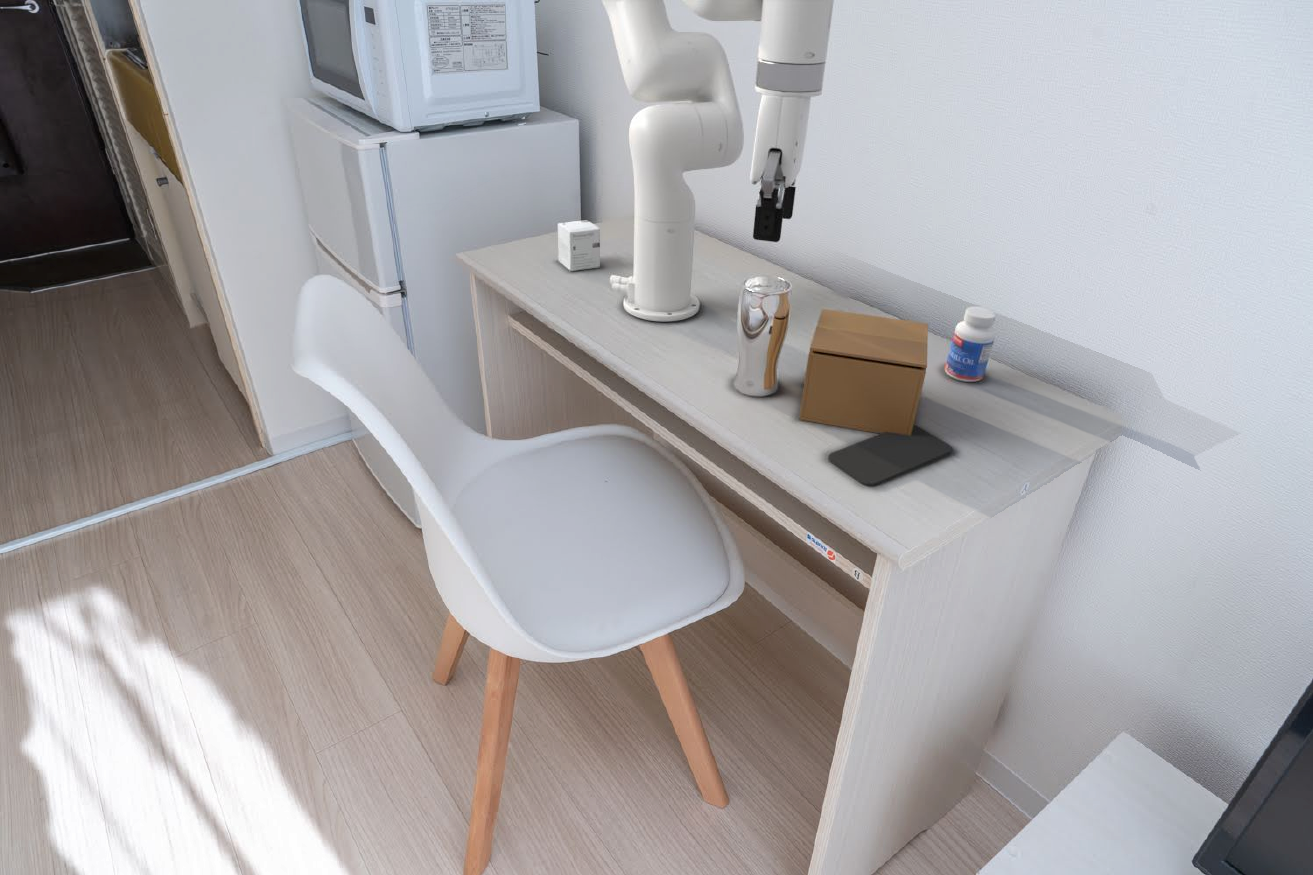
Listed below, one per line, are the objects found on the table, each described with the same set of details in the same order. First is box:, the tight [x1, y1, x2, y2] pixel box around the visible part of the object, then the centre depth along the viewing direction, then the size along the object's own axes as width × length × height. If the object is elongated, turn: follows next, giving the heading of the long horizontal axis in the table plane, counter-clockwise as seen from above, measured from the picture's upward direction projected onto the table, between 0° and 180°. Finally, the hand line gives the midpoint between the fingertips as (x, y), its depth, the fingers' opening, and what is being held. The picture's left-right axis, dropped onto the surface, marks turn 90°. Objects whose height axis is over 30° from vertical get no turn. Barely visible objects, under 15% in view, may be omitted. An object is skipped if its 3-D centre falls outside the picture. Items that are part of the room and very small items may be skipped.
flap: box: [816, 308, 929, 344], centre depth 105 cm, size 6×14×1 cm, turn 73°
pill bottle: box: [944, 306, 997, 383], centre depth 113 cm, size 6×5×10 cm
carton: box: [798, 326, 928, 436], centre depth 105 cm, size 13×14×10 cm
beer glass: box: [733, 274, 793, 398], centre depth 107 cm, size 7×7×15 cm
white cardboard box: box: [557, 219, 601, 272], centre depth 147 cm, size 6×6×7 cm
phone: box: [827, 424, 953, 487], centre depth 97 cm, size 7×1×15 cm
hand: (773, 228), depth 99 cm, fingers open, 9 cm apart
